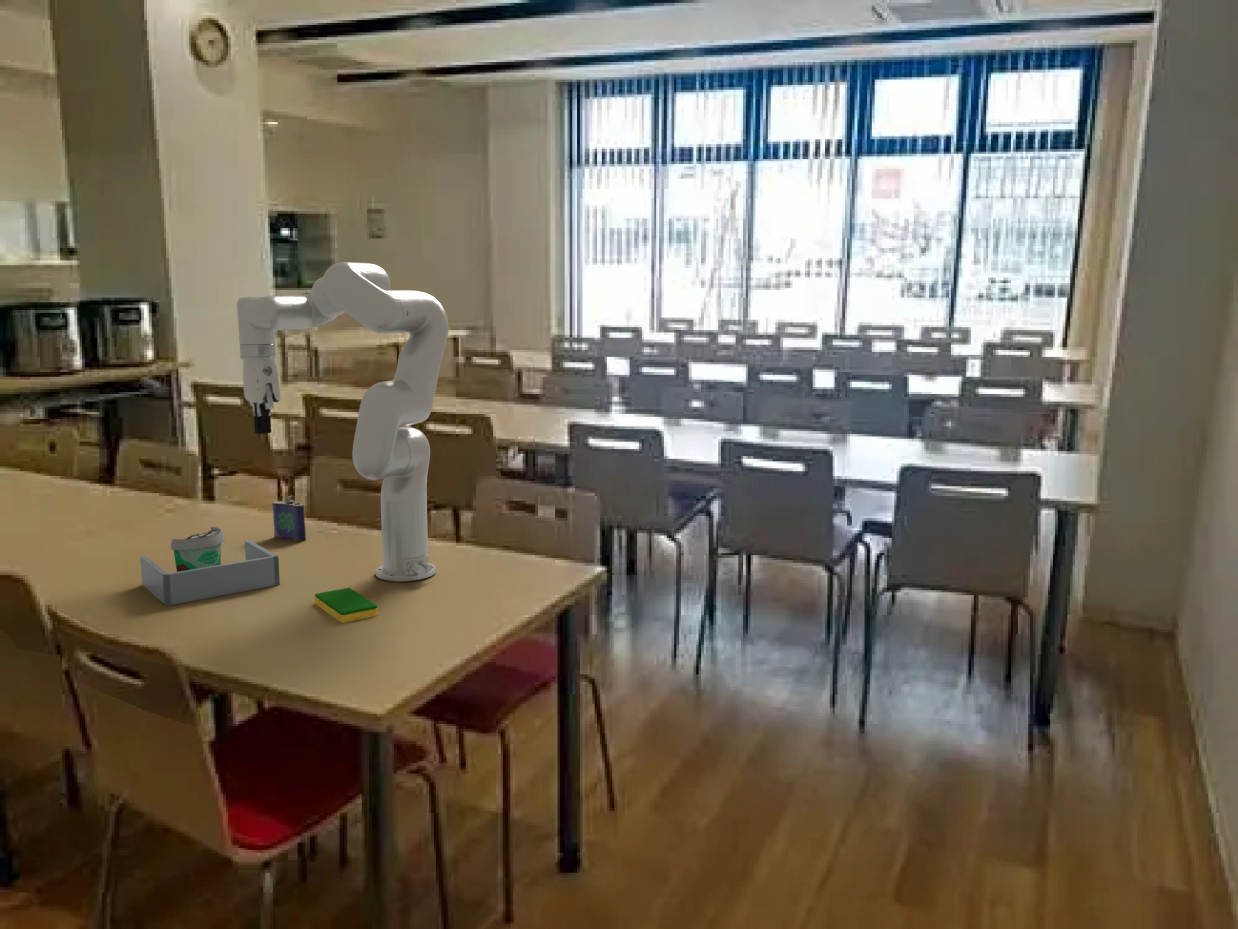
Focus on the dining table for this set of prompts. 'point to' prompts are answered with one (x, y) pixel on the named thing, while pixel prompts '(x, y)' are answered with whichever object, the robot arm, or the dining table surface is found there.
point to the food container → (198, 550)
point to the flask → (289, 520)
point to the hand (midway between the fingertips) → (263, 433)
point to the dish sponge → (346, 605)
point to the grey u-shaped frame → (212, 577)
